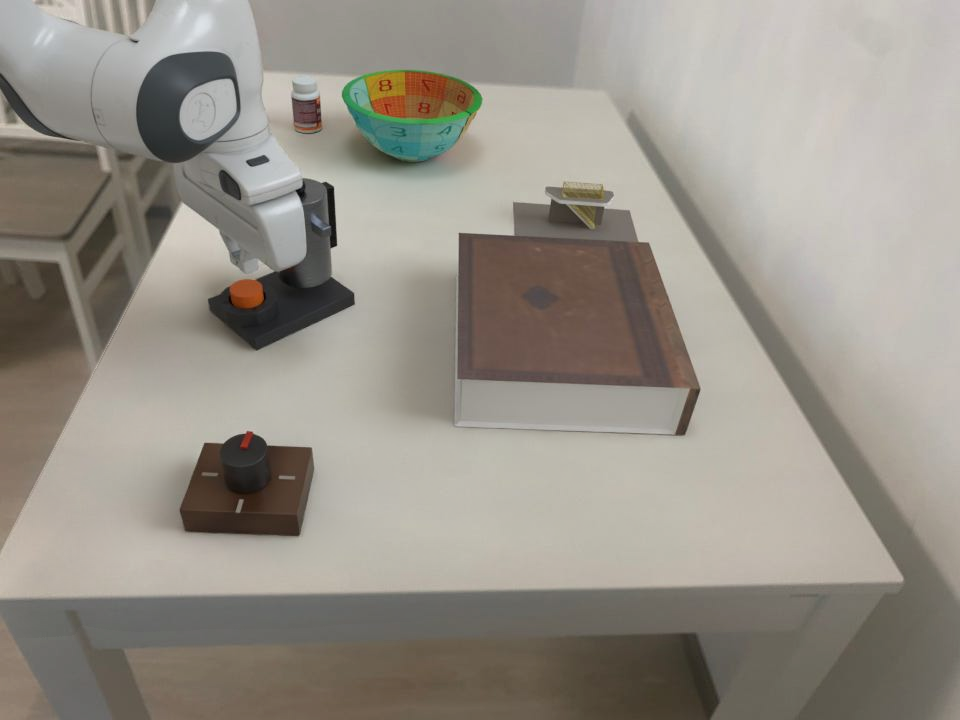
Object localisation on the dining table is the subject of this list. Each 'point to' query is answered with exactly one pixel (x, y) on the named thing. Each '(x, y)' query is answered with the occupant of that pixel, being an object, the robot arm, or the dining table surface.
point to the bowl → (411, 111)
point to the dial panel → (249, 495)
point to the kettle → (315, 236)
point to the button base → (281, 309)
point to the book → (567, 338)
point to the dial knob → (245, 463)
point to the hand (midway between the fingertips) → (245, 267)
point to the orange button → (246, 293)
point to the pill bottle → (306, 105)
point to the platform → (575, 216)
